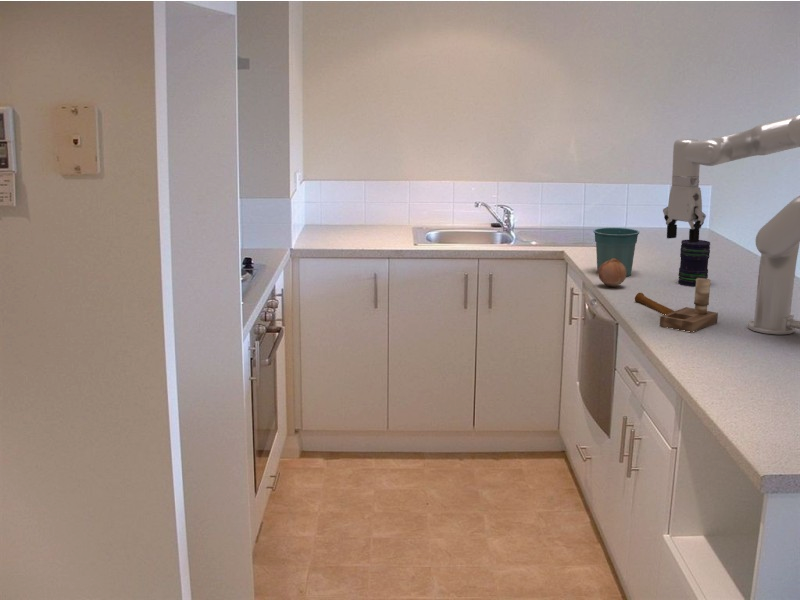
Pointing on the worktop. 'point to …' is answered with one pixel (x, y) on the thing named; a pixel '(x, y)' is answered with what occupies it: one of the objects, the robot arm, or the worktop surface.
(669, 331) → the worktop surface
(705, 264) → the storage jar
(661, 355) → the worktop surface
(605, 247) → the flower pot
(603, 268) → the onion
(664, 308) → the primitive tool
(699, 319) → the board
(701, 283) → the peg
